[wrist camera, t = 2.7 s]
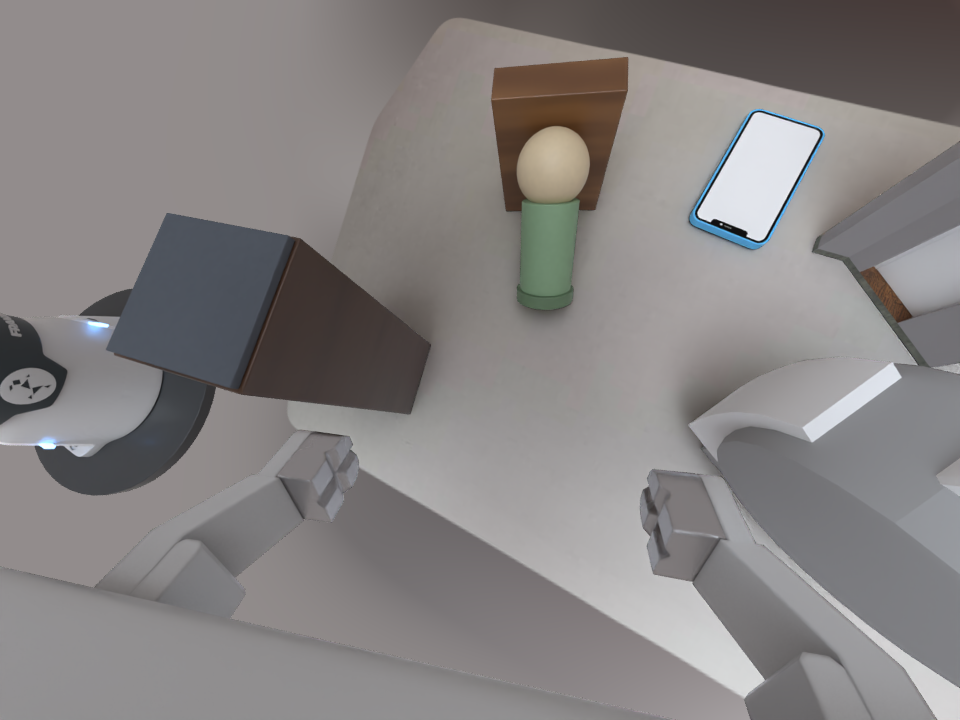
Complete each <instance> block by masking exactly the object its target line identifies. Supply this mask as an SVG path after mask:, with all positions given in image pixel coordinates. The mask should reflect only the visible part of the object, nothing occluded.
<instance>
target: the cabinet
mask: <svg viewBox="0 0 960 720" xmlns="http://www.w3.org/2000/svg"><path fill="white" fill-rule="evenodd" d="M812 252H814V253H817V254H821V255H824V256H828V257H832V258H835V259H839V260H842V261H843V262H844V263H845V264H846V266H847V267H848V269H849V270H850V271H851V273H852V274H853V275H854V277H855V278H856V279H857V281H858V282H859V284H860V285H861V286H862V288H863V289H864V290H865V292H866V293H867V294H868V296H869V297H870V299H871V300H872V301H873V303H874V304H875V305H876V307H877V308H878V309H879V311H880V312H881V314H882V315H883V316H884V318H885V319H886V320H887V322H888V323H889V324H890V326H891V327H892V329H893V330H894V331H895V333H896V334H897V335H898V337H899V338H900V339H901V341H902V342H903V344H904V345H905V346H906V348H907V349H908V350H909V352H910V353H911V354H912V356H913V357H914V359H915V360H916V361H917V363H918V364H919V365H920V366H925V367H930V368H931V367H938V366H944V365H951V364H957V363H960V141H959V142H958V143H956V144H955V145H953V146H952V147H950V148H949V149H948V150H946V151H945V152H943V153H942V154H940V155H939V156H937V157H936V158H934V159H933V160H931V161H930V162H928V163H927V164H925V165H924V166H922V167H921V168H920V169H918V170H917V171H915V172H914V173H912V174H911V175H909V176H908V177H906V178H905V179H903V180H902V181H900V182H899V183H897V184H896V185H894V186H893V187H892V188H890V189H889V190H887V191H886V192H884V193H883V194H881V195H880V196H878V197H877V198H875V199H874V200H872V201H871V202H869V203H868V204H866V205H865V206H864V207H862V208H861V209H859V210H858V211H856V212H855V213H853V214H852V215H850V216H849V217H847V218H846V219H844V220H843V221H841V222H840V223H838V224H837V225H836V226H834V227H833V228H831V229H830V230H828V231H827V232H825V233H824V234H822V235H821V236H819V237H818V238H817V239H816V242H815V245H814V248H813V251H812Z"/></svg>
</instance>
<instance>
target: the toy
mask: <svg viewBox="0 0 960 720" xmlns="http://www.w3.org/2000/svg"><path fill="white" fill-rule="evenodd" d="M589 168H590V158H589V152H588V149H587V146H586V144H585V143H584V141H583V139H582V138H581V137H580V136H579V135H578V134H577V133H576V132H574V131H573V130H571V129H569V128H566V127H562V126H552V127H548V128H545V129H542V130H540V131H539V132H537V133H536V134H534V135H533V136H532V137H531V138H530V139H529V140H528V141H527V142H526V144H525V145H524V147H523V149H522V151H521V153H520V155H519V158H518V163H517V180H518V184H519V187H520V189H521V191H522V193H523V194H524V196H525V197H526V198H527V199H525V200H523V201H522V217H521V261H520V284H519V285H518V286H517V301H518V302H519V303H520V304H522V305H523V306H526V307H529V308H533V309H541V310H551V309H559V308H563V307H565V306H567V305H569V304H570V303H571V302H572V298H573V286H572V285H571V279H572V269H573V260H574V250H575V241H576V232H577V222H578V213H579V203H580V200H579V199H577V198H575V197H576V196H577V195H578V194H579V193H580V191H581V190H582V188H583V187H584V185H585V183H586V180H587V177H588V174H589Z"/></svg>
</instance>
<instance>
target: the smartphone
mask: <svg viewBox="0 0 960 720" xmlns="http://www.w3.org/2000/svg"><path fill="white" fill-rule="evenodd" d="M824 137H825V133H824V131H823V130H822V129H821V128H820V127H817V126H814V125H811V124H808V123H805V122H801V121H798V120H795V119H792V118H789V117H785V116H782V115H779V114H776V113H772V112H769V111H766V110H762V109H756V110H753V111H751V112H750V113H749V115H748V116H747V118H746V119H745V121H744V122H743V124H742V126H741V127H740V129H739V131H738V133H737V134H736V136H735V138H734V140H733V141H732V143H731V145H730V147H729V148H728V150H727V152H726V154H725V155H724V157H723V159H722V160H721V162H720V164H719V166H718V167H717V169H716V171H715V173H714V174H713V176H712V178H711V180H710V181H709V183H708V185H707V187H706V188H705V190H704V192H703V194H702V195H701V197H700V199H699V200H698V202H697V204H696V206H695V207H694V209H693V211H692V213H691V214H690V222H691V224H692V225H694V226H696V227H698V228H701V229H703V230H705V231H708V232H710V233H713V234H715V235H718V236H720V237H723V238H725V239H728V240H730V241H733V242H735V243H737V244H740V245H742V246H745V247H747V248H750V249H758V248H760V247H762V246H763V245H764V244H765V243H766V242H768V241H769V239H770V237H771V236H772V234H773V232H774V230H775V228H776V226H777V224H778V223H779V221H780V219H781V217H782V215H783V213H784V211H785V210H786V208H787V206H788V204H789V202H790V200H791V198H792V197H793V195H794V193H795V191H796V189H797V187H798V185H799V184H800V182H801V180H802V178H803V176H804V174H805V172H806V171H807V169H808V167H809V165H810V163H811V161H812V159H813V158H814V156H815V154H816V152H817V150H818V148H819V146H820V144H821V143H822V141H823V139H824Z"/></svg>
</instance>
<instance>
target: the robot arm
mask: <svg viewBox="0 0 960 720" xmlns="http://www.w3.org/2000/svg"><path fill="white" fill-rule="evenodd" d="M119 319H120V317H109V316H68V315H60V316H58V317H32V318H31V317H30V318H18V317H13V316H8V315H5V314H2V313H0V444H3V445H34V446H41V447H42V448H44V449H54V448H55V447H56V446H64V447H65V448H67V449H68V450H69V451H71V452H72V453H73V454H74V455H76V456H78V457H90V456H92V455H94V454H95V453H97V452H98V451H99V450H100V449H101V448H102V447H103V446H105V445H106V444H107V443H109V442H111V441H113V440H116V439H119V438H121V437H123V436H125V435H127V434H129V433H130V432H132V431H133V430H134V429H136V428H137V427H138V426H139V425H140V424H141V423H142V422H143V421H144V420H145V418H146V417H147V416H148V414H149V413H150V411H151V410H152V408H153V406H154V404H155V402H156V400H157V398H158V395H159V392H160V388H161V383H162V374H163V370H160V369H156V368H153V367H150V366H147V365H143V364H140V363H137V362H134V361H130V360H127V359H124V358H121V357H117V356H115V355H114V353H113V352H110V351H107V350H106V348H107V345H108V343H109V341H110V339H111V336H112V334H113V332H114V330H115V327H116V325H117V323H118V321H119ZM352 445H353V443H352V441H351V439H350V437H349V436H344V435H337V434H330V433H323V432H315V431H307V430H298V431H296V432H294V433H293V434H292V435H291V436H290V437H289V439H288V440H287V441H286V442H285V443H284V445H283V446H282V447H281V448H280V449H279V450H278V452H277V453H276V454H275V455H274V456H273V457H272V458H271V459H270V461H269V462H268V463H267V464H266V465H265V466H264V468H263V469H262V470H261V471H260V472H259V473H258V474H252V475H250V476H248V477H246V478H245V479H243V480H241V481H239V482H237V483H235V484H234V485H232V486H230V487H228V488H227V489H225V490H223V491H221V492H219V493H218V494H216V495H214V496H212V497H210V498H208V499H207V500H205V501H203V502H201V503H199V504H198V505H196V506H194V507H192V508H190V509H188V510H187V511H185V512H183V513H181V514H179V515H178V516H176V517H174V518H172V519H170V520H169V521H167V522H165V523H163V524H162V525H160V526H158V527H156V528H154V529H152V530H151V531H150V532H149V533H148V534H147V535H146V536H145V537H144V538H143V539H142V540H141V541H140V542H139V543H138V544H137V545H136V546H135V547H134V548H133V549H132V550H131V551H130V552H129V553H128V554H127V555H126V556H125V557H124V558H123V559H122V560H121V561H120V562H119V563H118V564H117V565H116V566H115V567H114V568H113V569H112V570H111V571H110V572H109V573H108V574H107V575H106V576H105V577H104V578H103V579H102V580H101V581H100V582H99V583H98V584H97V585H96V586H95V587H94V588H93V587H88V586H84V585H80V584H75V583H71V582H66V581H62V580H58V579H53V578H48V577H44V576H40V575H35V574H31V573H27V572H22V571H17V570H13V569H9V568H4V567H0V720H676V719H671V718H667V717H663V716H658V715H654V714H650V713H645V712H641V711H636V710H632V709H627V708H623V707H619V706H614V705H610V704H605V703H601V702H597V701H592V700H588V699H583V698H579V697H574V696H570V695H565V694H561V693H556V692H552V691H548V690H544V689H539V688H535V687H530V686H526V685H521V684H517V683H513V682H508V681H504V680H499V679H495V678H490V677H486V676H481V675H477V674H472V673H468V672H464V671H459V670H455V669H451V668H446V667H442V666H437V665H433V664H429V663H424V662H420V661H415V660H411V659H406V658H402V657H398V656H393V655H389V654H384V653H380V652H375V651H371V650H366V649H362V648H358V647H354V646H349V645H345V644H340V643H336V642H331V641H327V640H323V639H318V638H314V637H309V636H305V635H300V634H296V633H292V632H287V631H283V630H278V629H273V628H270V627H265V626H260V625H256V624H251V623H247V622H243V621H239V620H234V619H230V618H231V616H232V615H233V613H234V612H235V610H236V609H237V607H238V606H239V604H240V602H241V601H242V599H243V598H244V596H245V588H244V587H243V586H242V585H241V584H240V583H239V582H238V581H237V580H236V578H235V577H236V576H238V575H239V574H240V573H241V572H242V571H244V570H245V569H246V568H247V567H249V566H250V565H251V564H252V563H253V562H255V561H256V560H257V559H258V558H259V557H261V556H262V555H263V554H264V553H266V552H267V551H268V550H269V549H270V548H272V547H273V546H274V545H275V544H276V543H278V542H279V541H280V540H281V539H283V538H284V537H285V536H286V535H287V534H288V533H290V532H291V531H292V530H293V529H295V528H296V527H297V526H298V525H300V524H301V523H302V522H303V521H304V520H303V519H307V520H315V521H323V522H330V523H332V521H333V520H334V518H335V516H336V514H337V512H338V511H339V509H340V507H341V506H342V504H343V502H344V498H343V493H344V492H346V491H347V490H349V489H350V488H352V486H353V484H354V482H355V480H356V479H357V475H358V471H359V460H358V457H357V455H356V454H355V453H354V452H353V451H352V450H350V449H351V447H352ZM647 480H648V484H649V487H647V488H645V489H644V490H643V492H642V495H641V499H640V515H641V521H642V526H643V529H644V530H645V531H646V532H647V533H648V534H649V535H650V539H649V541H648V544H647V549H648V554H649V558H650V563H651V567H652V571H653V574H654V575H660V576H665V577H670V578H676V579H681V580H686V581H692V582H693V583H692V584H693V585H694V587H695V588H696V589H697V591H698V592H699V593H700V594H701V596H702V597H703V598H704V600H705V601H706V602H707V604H708V605H709V606H710V608H711V609H712V610H713V612H714V613H715V614H716V616H717V617H718V618H719V620H720V621H721V622H722V624H723V625H724V626H725V627H726V629H727V630H728V631H729V633H730V634H731V635H732V637H733V638H734V639H735V641H736V642H737V643H738V645H739V646H740V647H741V649H742V650H743V651H744V653H745V654H746V655H747V657H748V658H749V659H750V660H751V662H752V663H753V664H754V666H755V667H756V668H757V670H758V671H759V672H760V674H761V675H762V676H763V678H764V679H765V681H764V682H762V683H761V684H760V685H759V686H757V687H756V688H755V689H753V690H752V691H751V692H749V693H748V695H747V696H746V697H745V699H744V701H745V704H746V707H747V710H748V713H749V716H750V719H751V720H937V719H936V717H935V715H934V714H933V712H932V711H931V709H930V708H929V706H928V705H927V703H926V701H925V700H924V698H923V697H922V695H921V694H920V692H919V691H918V689H917V687H916V686H915V684H914V683H913V681H912V680H911V678H910V677H909V675H908V674H907V672H906V670H905V669H904V668H903V667H902V666H901V665H900V664H899V663H897V662H896V661H895V660H894V659H893V658H892V657H891V656H889V655H888V654H887V653H886V652H885V651H884V650H883V649H882V648H880V647H879V646H878V645H877V644H876V643H875V642H874V641H872V640H871V639H870V638H869V637H868V636H867V635H866V634H864V633H863V632H862V631H861V630H860V629H859V628H858V627H856V626H855V625H854V624H853V623H852V622H851V621H850V620H849V619H847V618H846V617H845V616H844V615H843V614H842V613H841V612H839V611H838V610H837V609H836V608H835V607H834V606H833V605H831V604H830V603H829V602H828V601H827V600H826V599H825V598H823V597H822V596H821V595H820V594H819V593H818V592H817V591H815V590H814V589H813V588H812V587H811V586H810V585H809V584H808V583H806V582H805V581H804V580H803V579H802V578H801V577H800V576H798V575H797V574H796V573H795V572H794V571H793V570H792V569H790V568H789V567H788V566H787V565H786V564H785V563H784V562H782V561H781V560H780V559H779V558H778V557H777V556H776V555H774V554H773V553H772V552H771V551H770V550H769V549H768V548H767V547H765V546H764V545H759V544H756V542H755V540H754V538H753V536H752V534H751V532H750V530H749V528H748V526H747V524H746V522H745V520H744V518H743V516H742V514H741V512H740V510H739V508H738V506H737V504H736V502H735V500H734V498H733V496H732V494H731V492H730V489H729V487H728V485H727V483H726V481H725V480H724V479H723V478H722V477H721V476H712V475H703V474H695V473H687V472H677V471H666V470H656V469H652V470H651V471H650V472H649V475H648V477H647Z"/></svg>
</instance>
